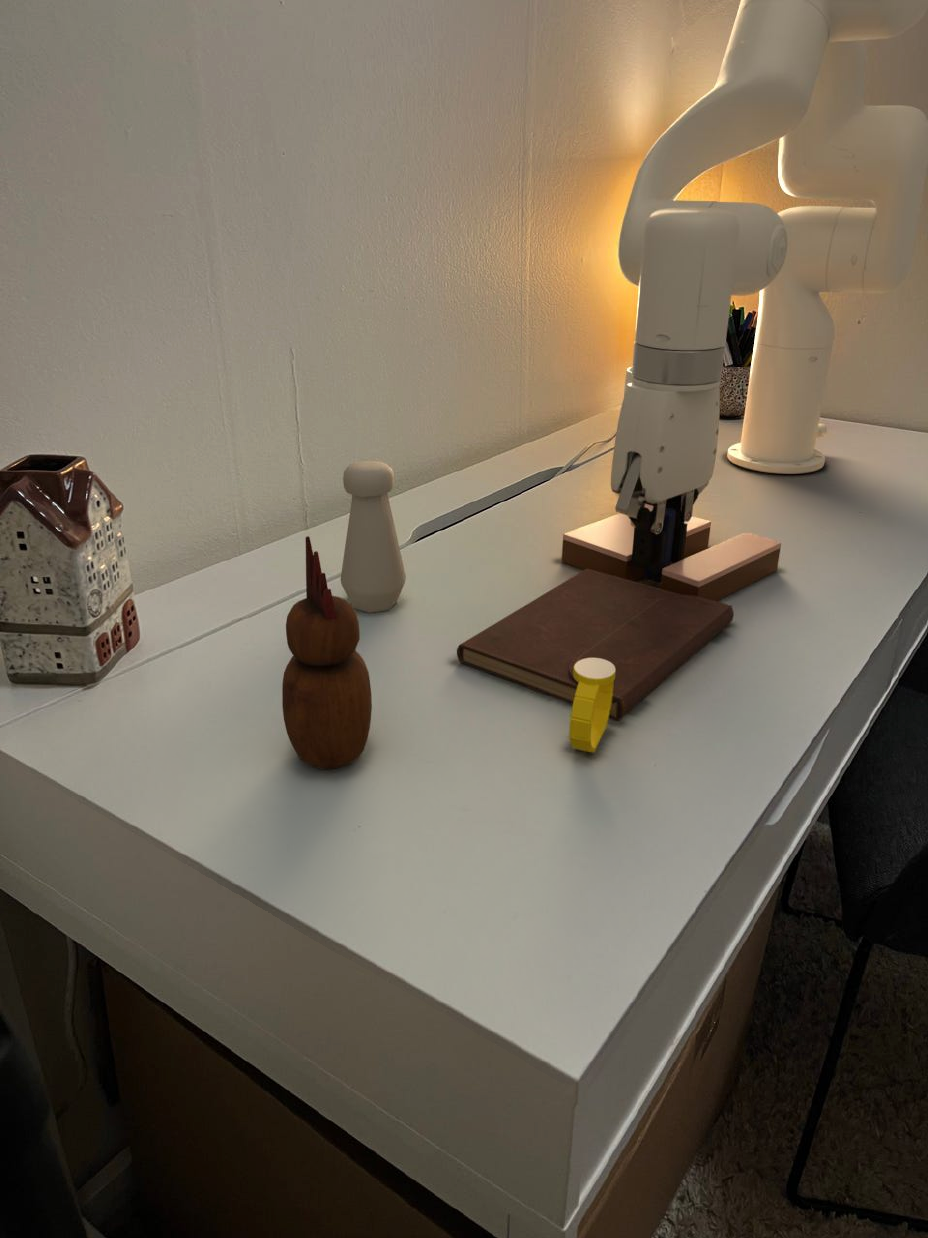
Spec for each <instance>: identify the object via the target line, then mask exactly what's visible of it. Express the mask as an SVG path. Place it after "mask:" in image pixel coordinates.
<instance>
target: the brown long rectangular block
mask: <svg viewBox="0 0 928 1238" xmlns="http://www.w3.org/2000/svg"><path fill="white" fill-rule="evenodd" d="M781 548H782V541H778V540H776V539H775V540H774V539H772V538H768V537H765V536H761V535H758V534H754V533H751V532H748V531H745V532H742V533H740V534H738V535H735V536H733V537H731V538H728V539H726V540H724V541H722V542H720V543H718V544H715V545H713V546H710V547H708V549H705V550H703V551H701V552H699V553H696V554H694V555H692V556H689V557H687V558H685V559H683V560H681V561H679V562H676V563H674V564H671V565H670V566H667V567H665V568H663V569H662V577H661V583H660V587H659V588H660V589H664V590H667V591H671V592H674V593H678V594H682V595H693V596H699V597H703V598H707V599H710V600H714V601H717V602H719V601H720V600H722V599H724V598H726V597H728V596H730V595H732V594H734V593H735V592H738V591H739V590H741V589H743V588H745V587H747V586H749V585H752V584H754V583H755V582H757V581H759V580H762V579H763V578H765V577H768V576H769V575H771V574H774V573H775V572H777V571H778V567H779V559H780V554H781Z"/></svg>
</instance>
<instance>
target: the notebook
mask: <svg viewBox="0 0 928 1238" xmlns="http://www.w3.org/2000/svg"><path fill="white" fill-rule="evenodd" d="M733 620H734V609H733V606H732V605H731V604H728V603H726V602H725V603H724V602H721V601H714V600H710V599H707V598H703V597H699V596H693V595H682V594H678V593H674V592H671V591H667V590H664V589H660V587H656V586H653V585H648V584H646V583H642V582H639V581H631V580H627V579H624V578H620V577H616V576H613V575H609V574H605V573H602V572H598V571H595V570H591V569H585V570H583V569H582V571H580V572H579V573H577V574H575V575H573V576H572V577H570V578H568V579H566V580H565V581H563V582H562V583H560V584H558V585H557V586H555V587H553V588H552V589H549V590H548V591H547V592H545V593H543V594H541V595H540V596H538V597H537V598H535V599H533V600H531V601H530V602H529V603H527V604H525V605H523V606H522V607H520V608H518V609H517V610H515V611H514V612H512V613H510V614H509V615H506V616H505V617H503V618H502V619H500V620H498V621H496V622H495V623H494V624H491V625H490V626H488V627H487V628H485V629H483V630H481V631H480V632H478V633H476V634H475V635H473V636H471V637H470V638H468V639H467V640H465V641H463V642H462V643H460V644H459V645H458V647H457V648H456V657H457V659H458V662H460V663H461V664H463V665H466V666H469V667H471V668H475V669H478V670H480V671H483V672H485V673H488V674H491V675H494V676H496V677H499V678H502V679H505V680H506V681H510V682H512V683H514V684H517V685H520V686H523V687H526V688H528V689H531V690H534V691H535V692H539V693H542V694H544V695H546V696H550V697H552V698H556V699H558V700H561V701H564V702H566V703H569V704H571V705H573V701H574V698H575V693H576V689H577V686H578V683H579V682H577V681H576V680H575V679H574V676H573V669H574V665H575V664H576V663H577V662H578V661H580V660H582V659H586V658H601V659H604V660H607V661H609V662H611V663H612V664H613V665H614V666H615V669H616V672H615V679H614V683H613V696H612V703H611V709H610V714H609V718H608V719H612V720H614V721H617V722H619V721H620V720H621V719H622V718H624V717H625V716H626V715H627V714H628V713H629V712H630V711H631V710H633V709H634V708H635V707H636V706H637V705H638V704H640V703H641V702H642V701H643V700H644V699H646V697H648V696H649V695H650V694H651V693H652V692H653V691H655V690H656V689H657V688H658V687H659V686H660V685H662V683H664V682H665V681H666V680H667V679H668V678H669V677H671V676H672V675H673V674H674V673H675V672H676V671H678V669H680V668H681V667H682V666H683V665H684V664H685V663H686V662H688V661H689V660H690V659H691V658H692V657H694V656H695V655H696V654H697V653H699V651H700V650H702V648H704V647H705V646H706V645H707V644H708V643H710V642H711V641H712V640H713V639H714V638H715V637H716V636H718V635H719V634H720V633H721V632H722V631H723V630H724V629H726V628H727V627H728V626H729V625H730V624H731V622H732V621H733Z"/></svg>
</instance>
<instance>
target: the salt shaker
mask: <svg viewBox="0 0 928 1238" xmlns="http://www.w3.org/2000/svg"><path fill="white" fill-rule="evenodd" d="M342 476H343V477H342V483H343V488H344V490H345V492H346V493H347V494H349V495H350V496H351V502H350V509H349V516H348V523H347V531H346V537H345V545H344V551H343V552H344V553H343V560H342V567H341V574H340V584H341V587H342V588H343V591H344V592H345V594H346V596H347V598H348V600H349V603H350V604H351V606H352V607H353V608H354V610H357V611H358V610H359V611H362V612H365V613H369V614H371V613H378V612H384V611H385V612H386V611H390V610H391V609H392V608H393V607H394V605H396V603H398V600H399V599H400V596H401V593H402V591H403V589H404V586H405V584H406V579H407V575H406V572H405V565H404V561H403V557H402V553H401V548H400V544H399V539H398V535H397V529H396V527H395V522H394V521H395V520H394V516H393V512H392V507H391V504H390V503H391V502H390V499H389V493H391V492H392V490H393V489H394V486H395V474H394V470H393V469H392V468H391V467H390V466H389V465H388V464H387V463H385V462H381V461H378V460H377V461H376V460H361V461H356V462H352V463H350V464H349V465H348V466H347V467H346V468H345V469H344V470H343V475H342Z"/></svg>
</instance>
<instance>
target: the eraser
mask: <svg viewBox="0 0 928 1238" xmlns="http://www.w3.org/2000/svg"><path fill="white" fill-rule="evenodd" d="M652 511H653V510H652ZM652 511H651V513H652ZM675 518H676V512H675V510H674V509H671V508H665V514H664V522H663V528H662V531H663V532H666V543H665V552H664V562H663V568H665V567H667V566H670V562H671V551H672V542H673V536H674V528H675ZM643 575H644V577H643V579H644V580H645V581H648V582H654V583H659V584H661V577H662V571H661V572H660V573H657V574H656V573H653V572H650V571H647V570H644V571H643Z"/></svg>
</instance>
